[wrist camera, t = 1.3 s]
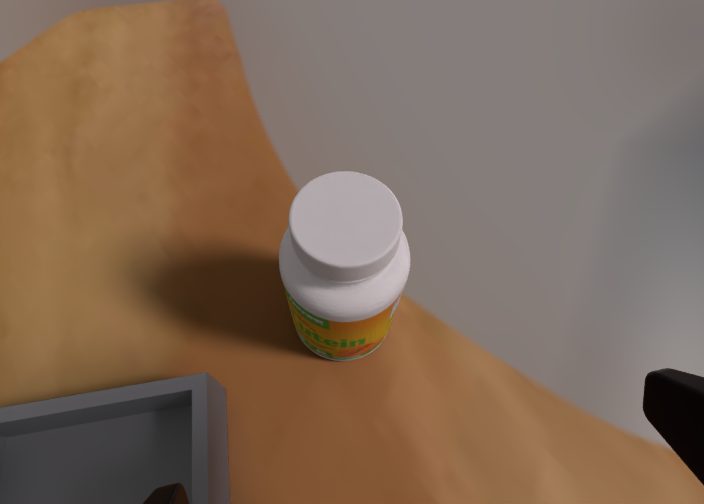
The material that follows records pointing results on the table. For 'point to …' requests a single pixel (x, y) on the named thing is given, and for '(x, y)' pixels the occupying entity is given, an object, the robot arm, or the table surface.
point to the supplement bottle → (344, 264)
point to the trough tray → (118, 445)
